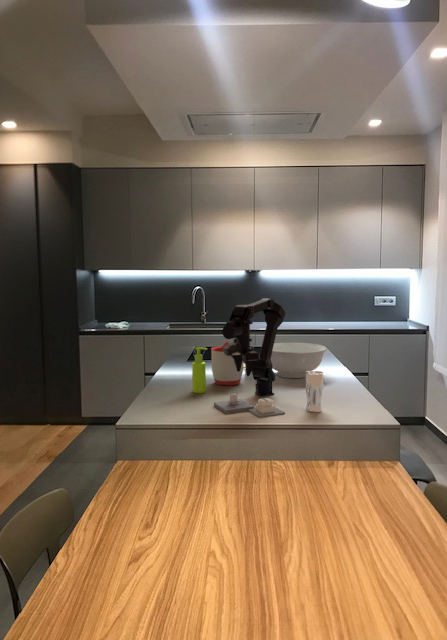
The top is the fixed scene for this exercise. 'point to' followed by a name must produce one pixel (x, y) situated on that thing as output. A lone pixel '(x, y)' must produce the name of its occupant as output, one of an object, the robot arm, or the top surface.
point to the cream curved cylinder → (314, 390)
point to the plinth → (233, 405)
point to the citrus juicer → (224, 367)
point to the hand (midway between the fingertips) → (243, 373)
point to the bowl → (296, 358)
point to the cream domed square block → (265, 405)
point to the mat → (259, 414)
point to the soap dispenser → (199, 373)
